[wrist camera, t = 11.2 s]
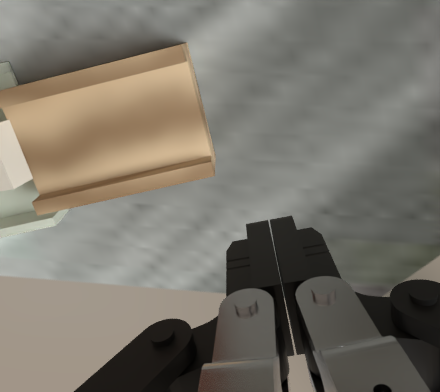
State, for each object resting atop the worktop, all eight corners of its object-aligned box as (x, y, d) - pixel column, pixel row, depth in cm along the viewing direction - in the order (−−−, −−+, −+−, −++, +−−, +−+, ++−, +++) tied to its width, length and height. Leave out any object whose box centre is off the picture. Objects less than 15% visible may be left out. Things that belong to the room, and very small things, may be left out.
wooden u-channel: (18, 85, 35) (-17, 94, 30) (187, 42, 34) (181, 44, 29) (61, 190, 39) (37, 215, 34) (215, 155, 37) (214, 175, 32)
